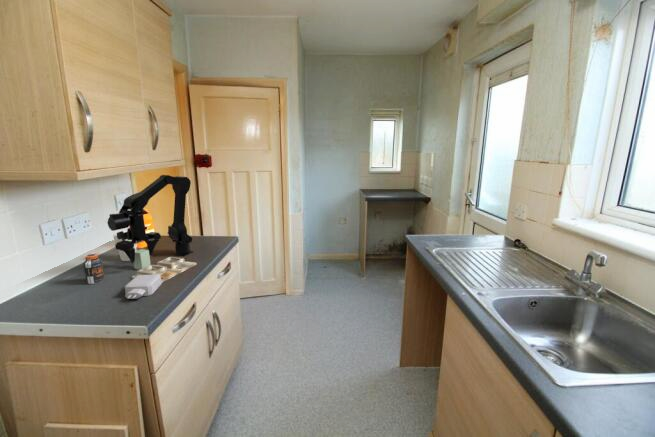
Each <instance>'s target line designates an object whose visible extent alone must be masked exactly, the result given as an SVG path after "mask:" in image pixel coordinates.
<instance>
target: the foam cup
mask: <svg viewBox="0 0 655 437" xmlns="http://www.w3.org/2000/svg"><path fill="white" fill-rule="evenodd" d="M122 231H123V232H124V233H125V232H127V230H122ZM118 232H119V231H117V232H115V233H113V234H112V235H113V240H114V241H115V244H116V243H118V242H121V241H122V239H120V240H119V239H118V238H117V233H118ZM124 241H132V240H128V239H126V240H124ZM136 242H137V241H136ZM133 248H135V251H137V250H138V249H137V248H138V247H137V244H134V247H133ZM117 251H118V254H119V258H120V260H121V261H122V262H127V261H130V259H129V257H128V256H127V254H126V253H125V252H124V251H121V250H118V249H117Z"/></svg>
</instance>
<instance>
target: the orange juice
mask: <svg viewBox="0 0 655 437" xmlns="http://www.w3.org/2000/svg"><path fill="white" fill-rule="evenodd" d="M143 209H144V210H145V211H147V212H148V214H144V215H143V216H144V223H145V227H147V229H146V230H145V231H146V233H149V232H155V228H154V227H155V226H154V219H153V218H152V216H151V214H150V212H149V211H148V209H147V208H143ZM128 228H130V226H129V227H128ZM146 247H147V244H146V242H145V241H143V242H140V243H137V248H138V249H144V248H146Z"/></svg>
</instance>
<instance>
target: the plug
mask: <svg viewBox="0 0 655 437" xmlns="http://www.w3.org/2000/svg"><path fill="white" fill-rule="evenodd" d="M150 265H152V264H151V258H150V255H149V250H148V249H145V248H138V249H137V251H135V260H134V263H133V267H134V270H137V271H139V270H141V269H143V268H146V267H148V266H150Z"/></svg>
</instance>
